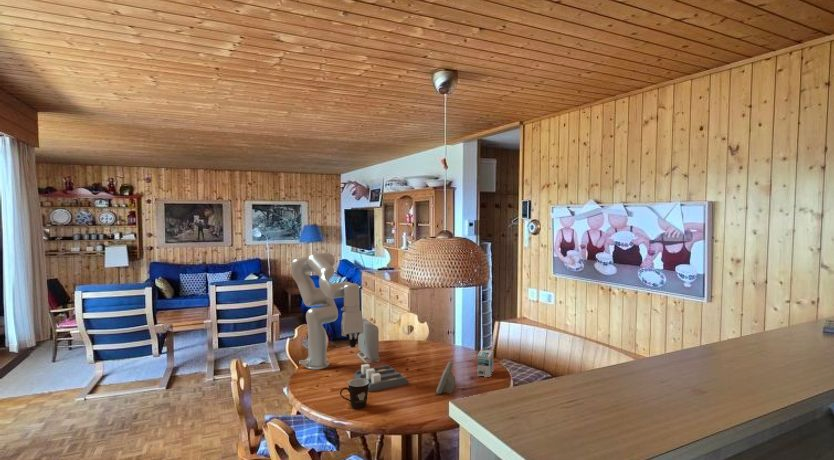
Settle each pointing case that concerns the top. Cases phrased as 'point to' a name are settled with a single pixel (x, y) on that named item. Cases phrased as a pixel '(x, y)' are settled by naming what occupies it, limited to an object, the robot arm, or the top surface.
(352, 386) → the coffee mug
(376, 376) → the near tab
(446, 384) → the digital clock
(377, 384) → the switch panel
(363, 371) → the far tab
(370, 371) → the middle tab
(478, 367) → the light bulb box
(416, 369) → the top surface
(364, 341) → the network device
